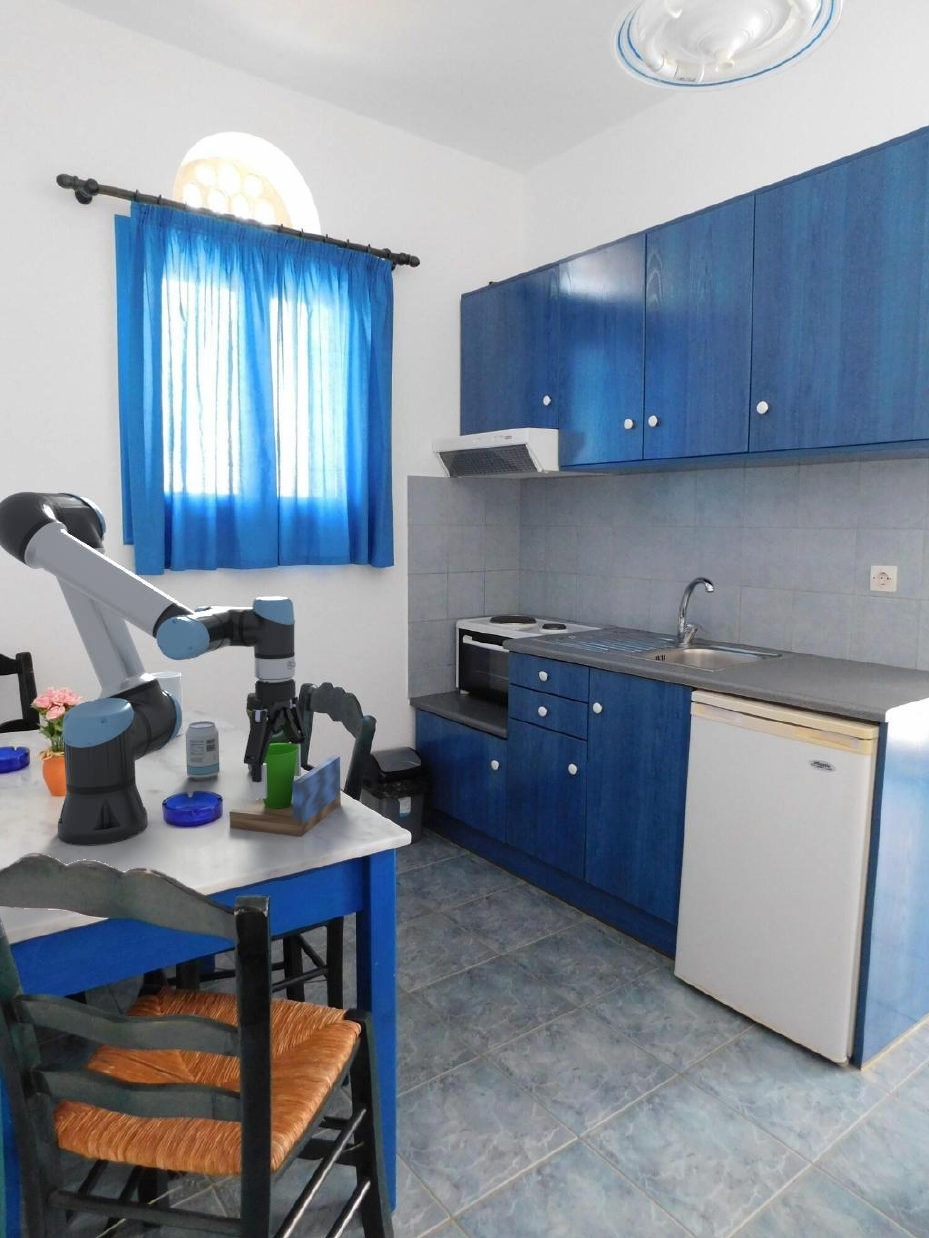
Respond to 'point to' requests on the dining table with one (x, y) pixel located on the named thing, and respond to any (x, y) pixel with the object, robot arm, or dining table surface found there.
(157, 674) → the cup
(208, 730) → the beverage can
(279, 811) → the wooden display stand
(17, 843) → the dining table surface
